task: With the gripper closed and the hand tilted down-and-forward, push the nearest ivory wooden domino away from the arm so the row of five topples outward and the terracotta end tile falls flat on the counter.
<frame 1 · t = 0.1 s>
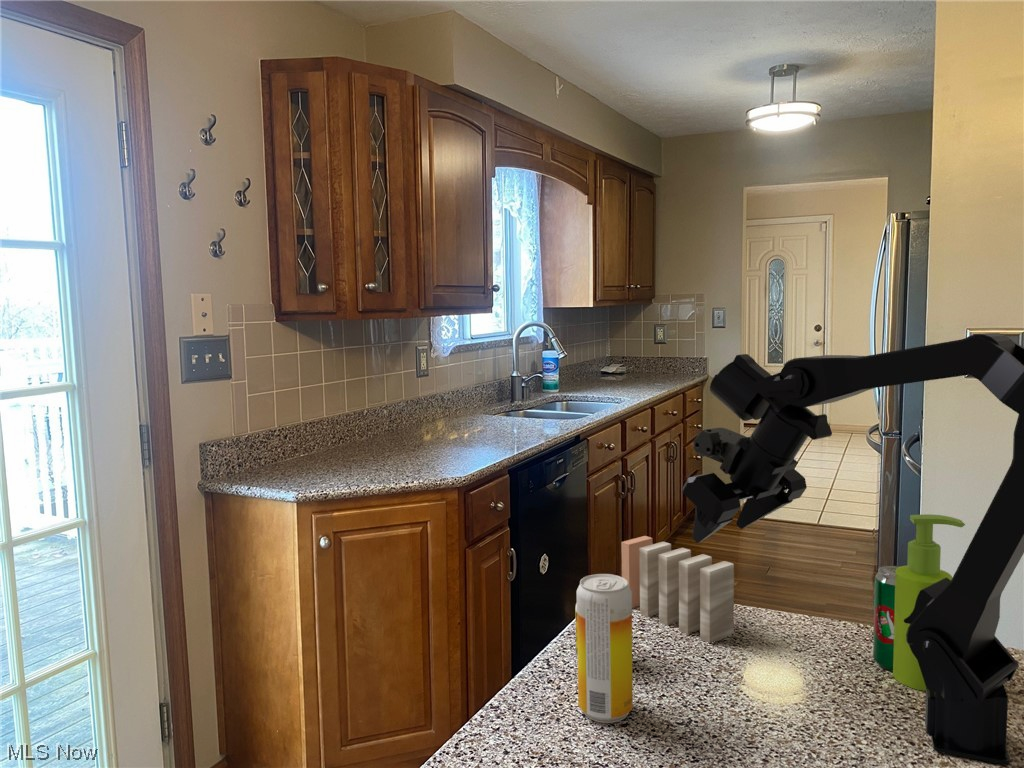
hand: (717, 533, 100), 15 cm above the countertop, tool tilted 35°, fingers open, 9 cm apart
soap dispenser: (925, 681, 89), on the countertop, touching soda can
domino 2: (695, 627, 106), on the countertop
domino 5: (637, 603, 115), on the countertop
soda can: (895, 666, 93), on the countertop, touching soap dispenser
domino 4: (655, 611, 112), on the countertop
beer can: (605, 712, 84), on the countertop
supplement bottle: (596, 659, 97), on the countertop
domino 3: (675, 619, 109), on the countertop
domino 1: (717, 637, 103), on the countertop
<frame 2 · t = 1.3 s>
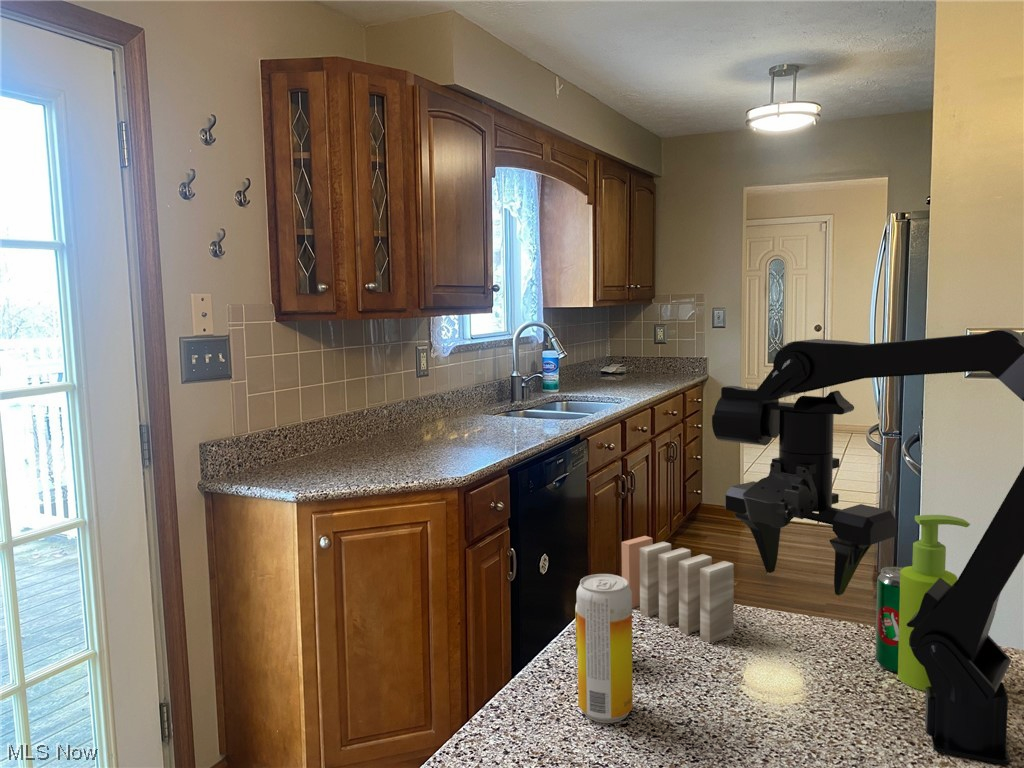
hand: (803, 582, 87), 13 cm above the countertop, tool pointing down, fingers open, 9 cm apart
soda can: (898, 667, 93), on the countertop, touching soap dispenser
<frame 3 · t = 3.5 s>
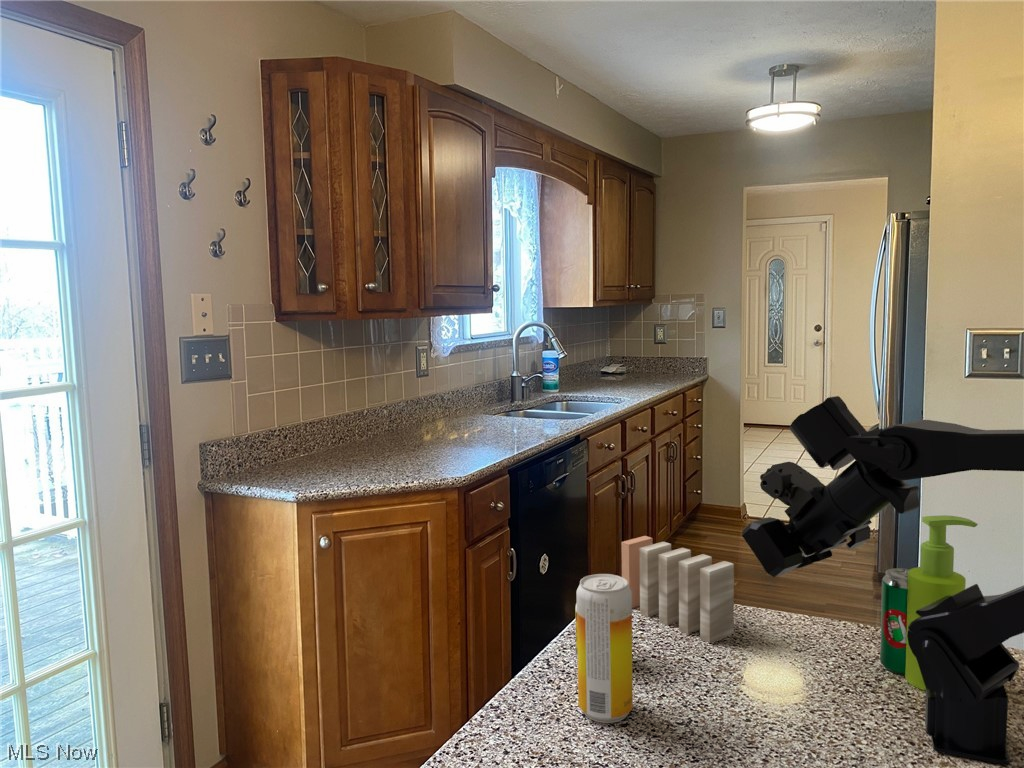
hand: (766, 568, 95), 12 cm above the countertop, tool tilted 45°, fingers closed
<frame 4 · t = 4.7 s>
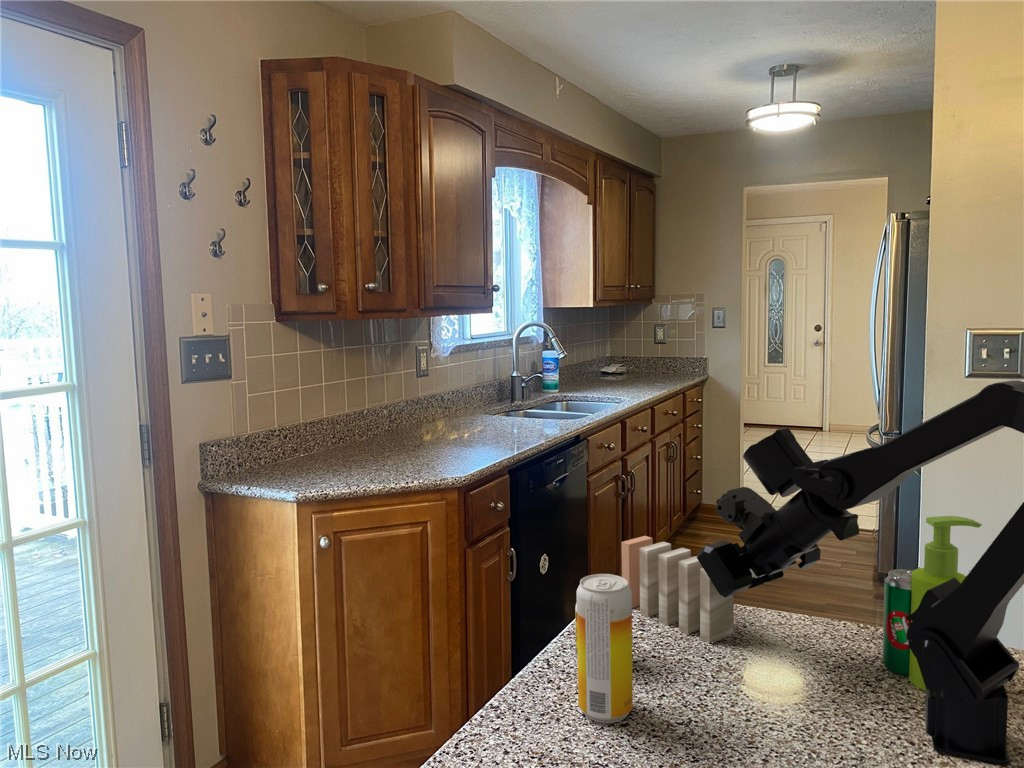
hand: (723, 587, 101), 7 cm above the countertop, tool tilted 45°, fingers closed, pressing on domino 1
soap dispenser: (941, 684, 89), on the countertop, touching soda can
domino 1: (717, 637, 103), on the countertop, touching gripper
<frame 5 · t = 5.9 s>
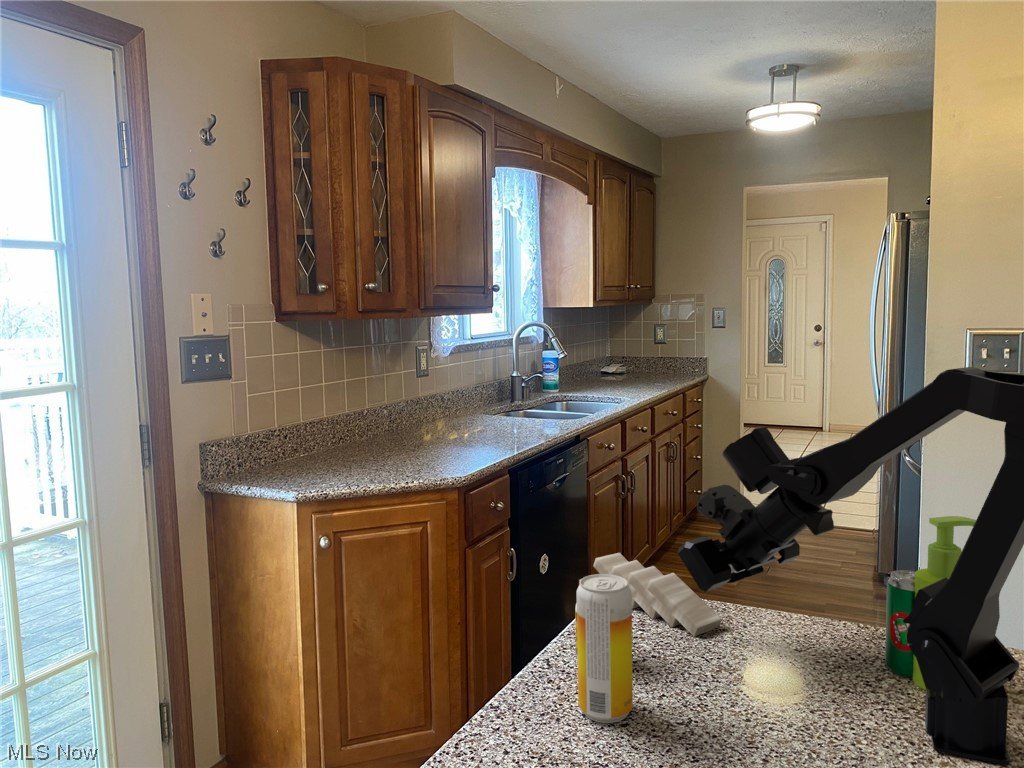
hand: (705, 582, 103), 7 cm above the countertop, tool tilted 45°, fingers closed
soap dispenser: (944, 685, 88), on the countertop, touching soda can
domino 2: (685, 618, 107), point 1 cm above the countertop, tilted 66°, touching domino 1, domino 3
domino 5: (633, 598, 116), on the countertop, tilted 90°, touching domino 4
domino 4: (645, 601, 113), point 1 cm above the countertop, tilted 66°, touching domino 5
domino 3: (666, 610, 110), point 1 cm above the countertop, tilted 65°, touching domino 2
domino 1: (708, 627, 104), point 1 cm above the countertop, tilted 66°, touching domino 2
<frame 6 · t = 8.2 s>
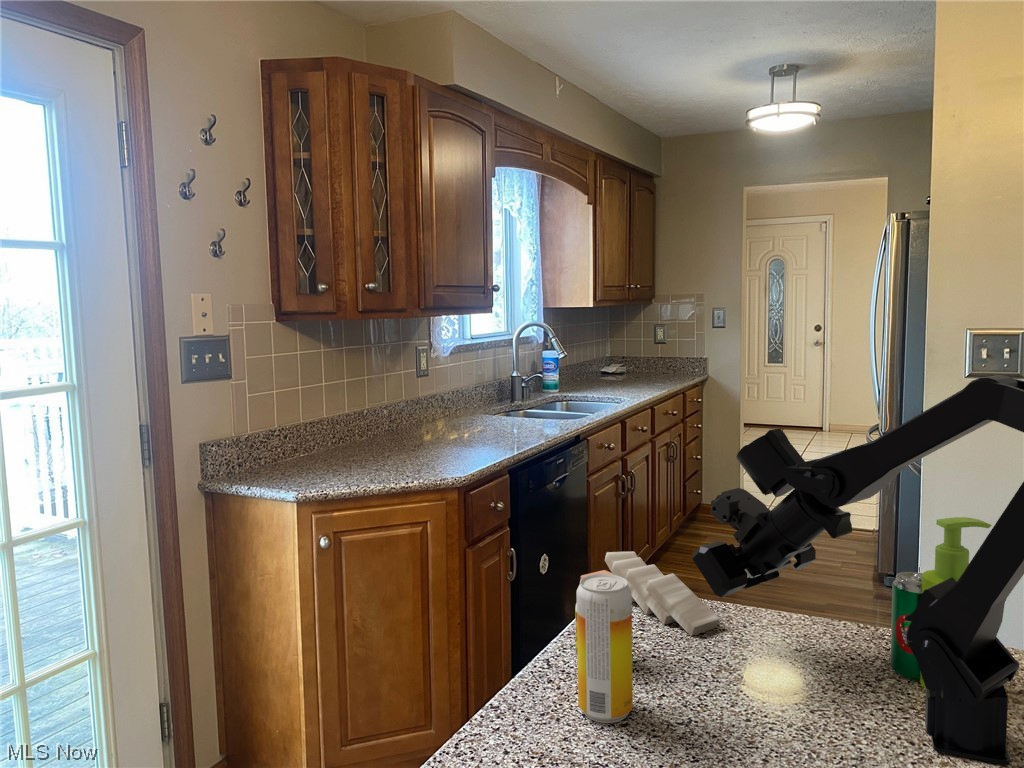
hand: (720, 588, 101), 7 cm above the countertop, tool tilted 45°, fingers closed
soap dispenser: (951, 687, 88), on the countertop, touching soda can
domino 2: (678, 617, 107), point 1 cm above the countertop, tilted 66°, touching domino 1, domino 3
domino 5: (632, 595, 117), on the countertop, tilted 90°, touching domino 4
domino 4: (644, 596, 115), point 1 cm above the countertop, tilted 69°, touching domino 3, domino 5
domino 3: (661, 607, 111), point 1 cm above the countertop, tilted 66°, touching domino 2, domino 4
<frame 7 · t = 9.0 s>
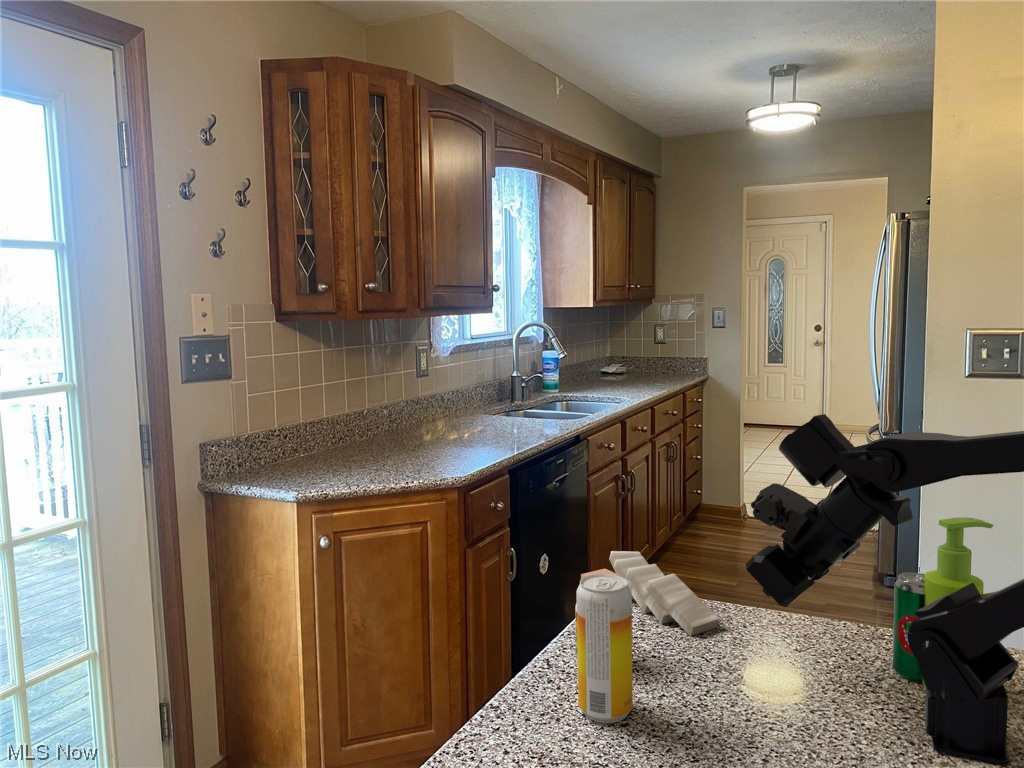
hand: (766, 592, 95), 9 cm above the countertop, tool tilted 40°, fingers closed
soap dispenser: (954, 688, 88), on the countertop, touching soda can
domino 4: (644, 595, 115), point 1 cm above the countertop, tilted 71°, touching domino 3, domino 5
domino 3: (659, 606, 111), point 1 cm above the countertop, tilted 66°, touching domino 2, domino 4
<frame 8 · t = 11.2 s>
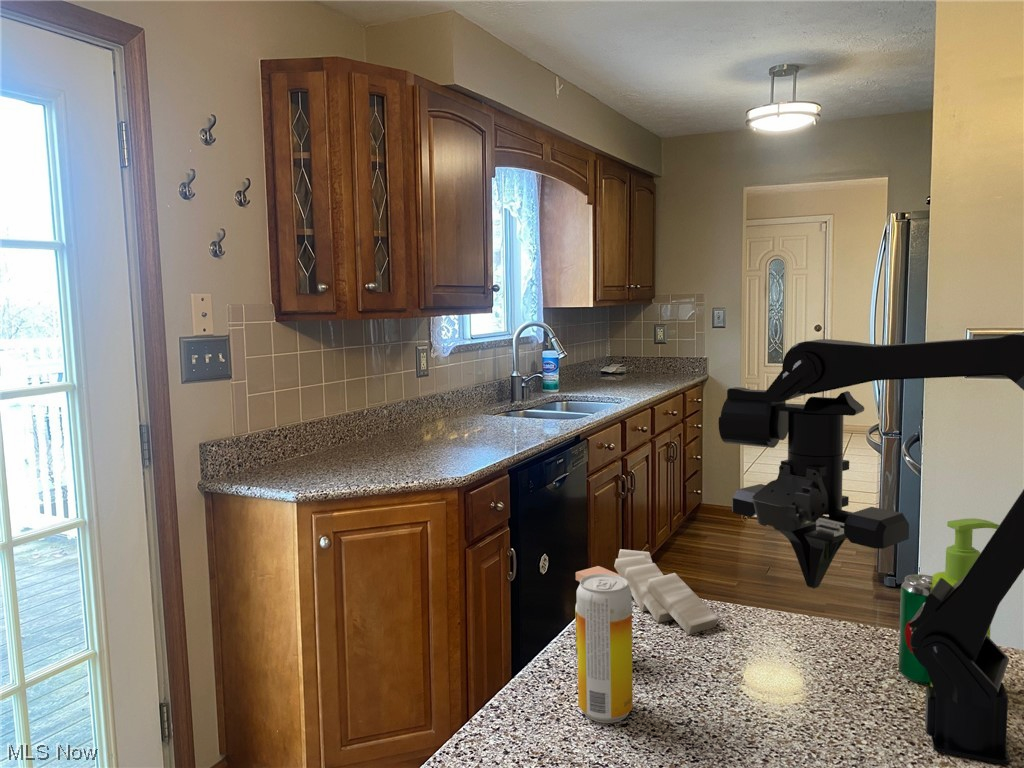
hand: (813, 587, 85), 13 cm above the countertop, tool pointing down, fingers closed
soap dispenser: (961, 690, 87), on the countertop, touching soda can
domino 2: (673, 615, 108), point 1 cm above the countertop, tilted 66°, touching domino 1, domino 3
domino 5: (627, 591, 119), on the countertop, tilted 90°, touching domino 4
soda can: (921, 678, 90), on the countertop, touching soap dispenser
domino 4: (644, 592, 116), point 1 cm above the countertop, tilted 74°, touching domino 3, domino 5
at the end: domino 5 tilted 90°; domino 1 tilted 68° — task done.
